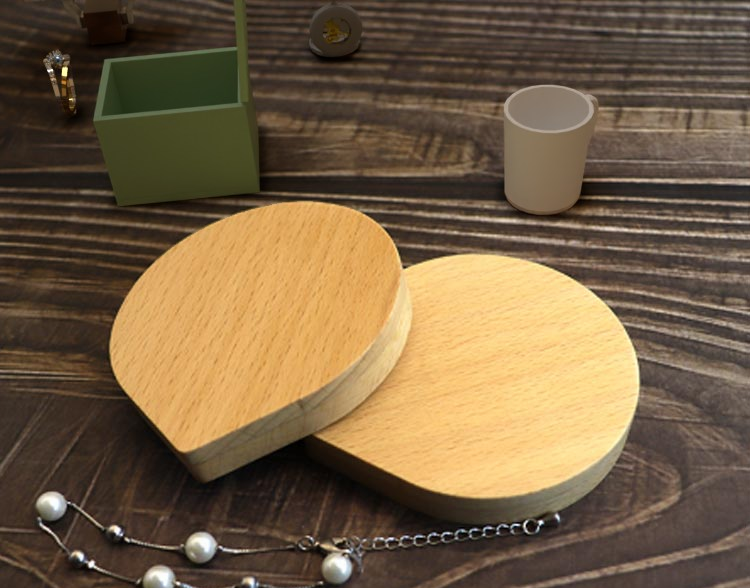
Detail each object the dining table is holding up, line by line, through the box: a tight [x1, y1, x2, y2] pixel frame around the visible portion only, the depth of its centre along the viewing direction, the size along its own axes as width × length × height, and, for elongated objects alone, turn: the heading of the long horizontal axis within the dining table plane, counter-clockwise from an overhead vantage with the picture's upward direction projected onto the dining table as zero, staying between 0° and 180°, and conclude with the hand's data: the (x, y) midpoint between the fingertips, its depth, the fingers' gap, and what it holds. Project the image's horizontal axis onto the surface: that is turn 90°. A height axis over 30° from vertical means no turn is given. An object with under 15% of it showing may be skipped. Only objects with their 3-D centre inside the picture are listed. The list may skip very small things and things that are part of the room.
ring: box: [43, 48, 78, 118], centre depth 122 cm, size 7×3×8 cm, turn 2°
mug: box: [503, 84, 600, 216], centre depth 105 cm, size 11×9×10 cm
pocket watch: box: [308, 0, 363, 58], centre depth 129 cm, size 8×8×10 cm
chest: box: [92, 46, 261, 207], centre depth 112 cm, size 16×13×11 cm
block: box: [82, 0, 128, 46], centre depth 137 cm, size 4×4×4 cm
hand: (106, 24), depth 137 cm, fingers closed on block, 4 cm apart
